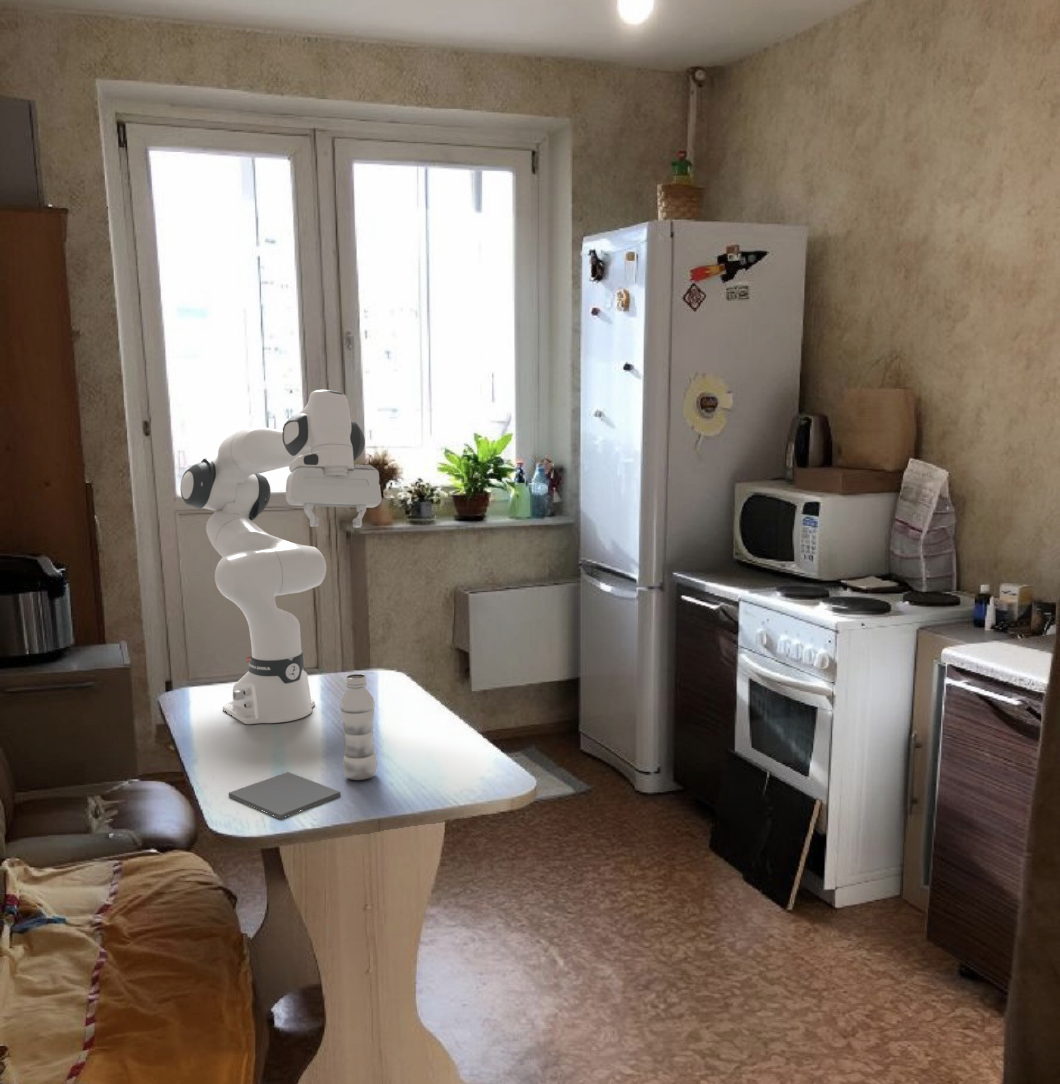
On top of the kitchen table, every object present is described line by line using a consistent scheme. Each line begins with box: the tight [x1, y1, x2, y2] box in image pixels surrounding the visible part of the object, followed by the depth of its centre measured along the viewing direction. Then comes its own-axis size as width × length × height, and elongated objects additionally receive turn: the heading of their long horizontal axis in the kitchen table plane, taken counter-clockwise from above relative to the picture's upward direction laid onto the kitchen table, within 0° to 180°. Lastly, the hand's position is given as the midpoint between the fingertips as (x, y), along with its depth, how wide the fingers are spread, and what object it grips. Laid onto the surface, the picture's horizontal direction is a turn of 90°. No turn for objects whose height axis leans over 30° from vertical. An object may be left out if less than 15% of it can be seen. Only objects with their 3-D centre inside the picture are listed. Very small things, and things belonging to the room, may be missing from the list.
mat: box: [228, 771, 342, 820], centre depth 179 cm, size 16×13×1 cm
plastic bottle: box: [339, 673, 378, 781], centre depth 186 cm, size 6×7×20 cm
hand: (336, 526), depth 207 cm, fingers open, 8 cm apart
